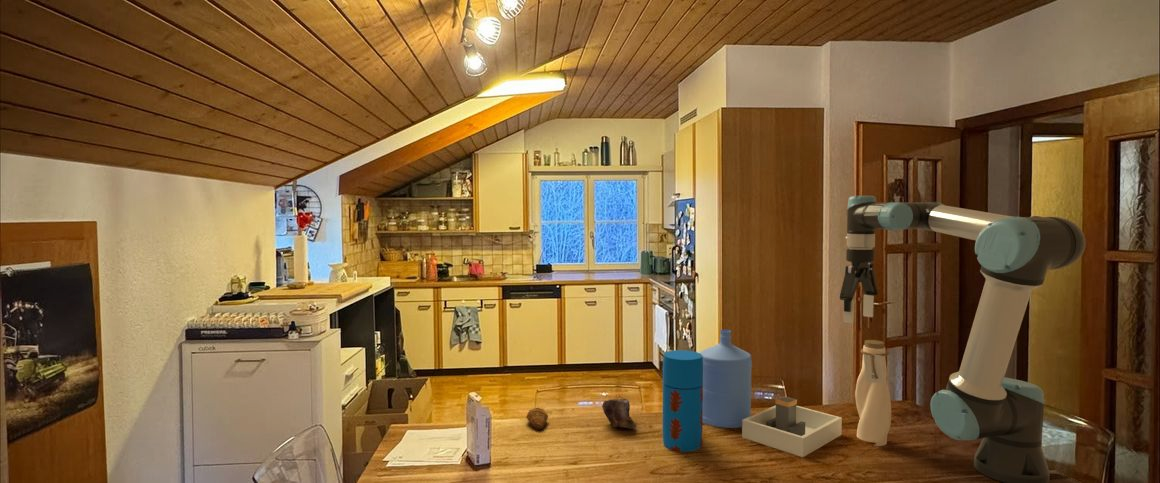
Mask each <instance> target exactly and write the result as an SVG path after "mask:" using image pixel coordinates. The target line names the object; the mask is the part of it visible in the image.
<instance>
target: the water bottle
mask: <svg viewBox="0 0 1160 483" xmlns="http://www.w3.org/2000/svg"><path fill="white" fill-rule="evenodd" d="M860 353H861V354H862V360H861V361H862V364H861V370H860V373H859V375H858V377H857V379H856V385H855V392H854V398H855V404H856V405H855V406H856V409H857V410H856V411H857V414H858V416H859V421H858V423H857V430H856V437H857V438H858V439H859V440H861V441H864V442H866V443H867V442H868V443H874V444H873V445H872V447H883V446H886V445H887V444H888V435H889V432H890V428H891V422H892V404H891V392H890V388H889V385H888V381H887V377H888V376H887V375H888V374H887V373H888V372H887V371H888V369H887V362H886V357H887V356H889V351H888V350H886V346H885V342H884V341H881V340H877V339H866V340H864V344H863V347H862V348H861V349H860Z"/></svg>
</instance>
